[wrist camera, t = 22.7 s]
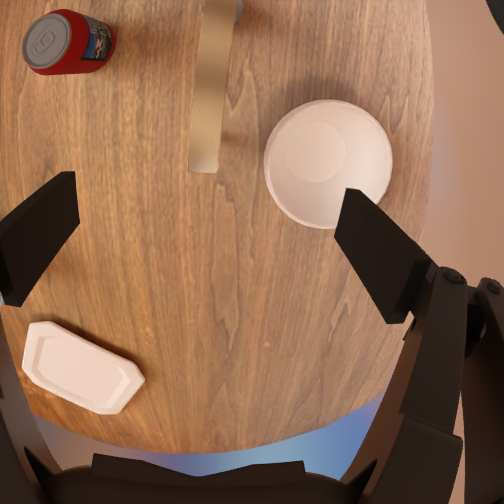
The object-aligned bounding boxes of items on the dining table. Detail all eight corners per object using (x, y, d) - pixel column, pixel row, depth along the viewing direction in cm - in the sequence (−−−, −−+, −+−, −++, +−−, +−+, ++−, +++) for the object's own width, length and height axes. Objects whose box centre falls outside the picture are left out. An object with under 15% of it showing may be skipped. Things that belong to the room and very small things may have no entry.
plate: (114, 412, 64) (113, 420, 63) (23, 369, 55) (20, 376, 53) (154, 364, 55) (152, 373, 54) (36, 304, 46) (31, 312, 44)
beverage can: (127, 48, 29) (90, 38, 19) (85, 84, 31) (36, 91, 20) (100, 12, 26) (56, -8, 16) (59, 48, 27) (5, 45, 17)
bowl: (326, 222, 44) (344, 249, 37) (235, 171, 39) (238, 192, 32) (385, 137, 38) (415, 151, 31) (297, 73, 33) (315, 72, 26)
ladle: (206, -4, 27) (199, -45, 15) (244, -1, 28) (257, -41, 16) (190, 139, 36) (175, 171, 24) (226, 141, 37) (230, 174, 25)
